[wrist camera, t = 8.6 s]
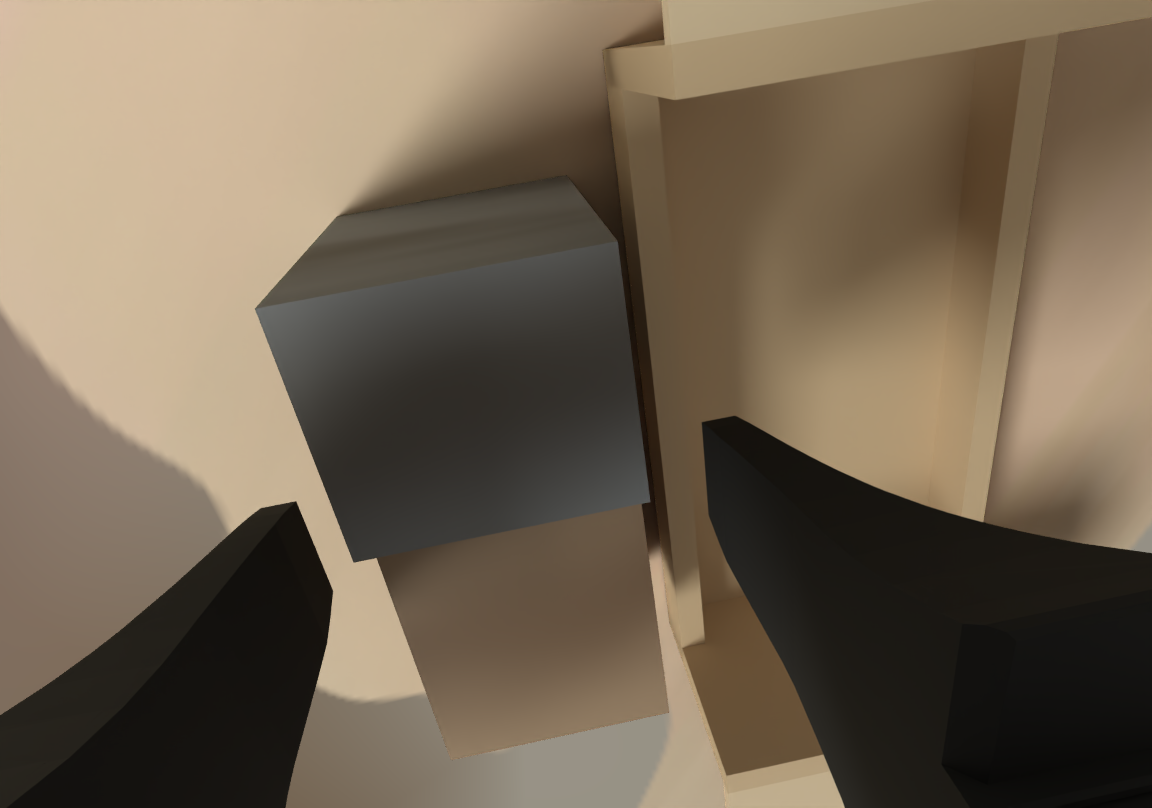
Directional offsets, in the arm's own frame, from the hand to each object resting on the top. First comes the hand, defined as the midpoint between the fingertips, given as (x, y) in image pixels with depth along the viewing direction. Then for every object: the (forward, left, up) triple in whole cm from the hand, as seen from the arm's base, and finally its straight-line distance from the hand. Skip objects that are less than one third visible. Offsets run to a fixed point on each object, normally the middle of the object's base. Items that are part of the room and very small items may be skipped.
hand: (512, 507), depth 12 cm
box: (0, 0, -4) cm, 4 cm away
